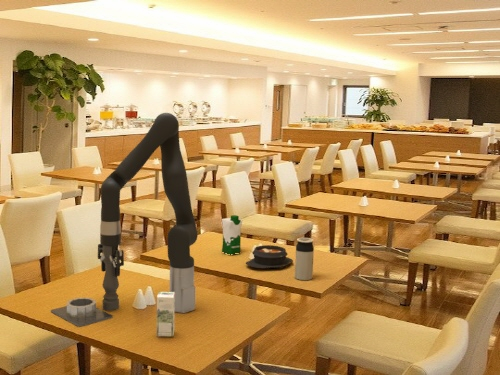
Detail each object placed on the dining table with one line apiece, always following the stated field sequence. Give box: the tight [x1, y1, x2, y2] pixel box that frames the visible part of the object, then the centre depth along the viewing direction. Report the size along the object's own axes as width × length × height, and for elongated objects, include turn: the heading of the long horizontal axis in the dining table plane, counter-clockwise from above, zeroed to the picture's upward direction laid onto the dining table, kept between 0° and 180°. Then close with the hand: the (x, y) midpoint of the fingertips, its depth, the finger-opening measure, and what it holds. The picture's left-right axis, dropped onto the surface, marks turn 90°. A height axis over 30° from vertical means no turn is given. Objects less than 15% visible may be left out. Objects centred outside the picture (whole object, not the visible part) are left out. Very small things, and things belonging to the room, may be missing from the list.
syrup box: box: [156, 291, 176, 338], centre depth 218 cm, size 6×6×14 cm
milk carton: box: [221, 214, 243, 255], centre depth 326 cm, size 9×9×20 cm
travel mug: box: [294, 237, 315, 281], centre depth 287 cm, size 8×8×18 cm
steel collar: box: [50, 297, 114, 328], centre depth 235 cm, size 20×14×5 cm
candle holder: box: [102, 246, 120, 312], centre depth 241 cm, size 6×6×25 cm
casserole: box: [245, 244, 294, 269], centre depth 306 cm, size 25×19×8 cm
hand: (110, 273), depth 241 cm, fingers open, 8 cm apart
